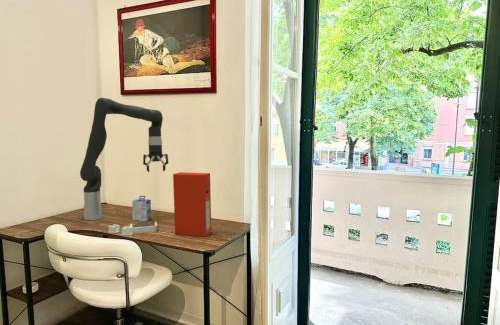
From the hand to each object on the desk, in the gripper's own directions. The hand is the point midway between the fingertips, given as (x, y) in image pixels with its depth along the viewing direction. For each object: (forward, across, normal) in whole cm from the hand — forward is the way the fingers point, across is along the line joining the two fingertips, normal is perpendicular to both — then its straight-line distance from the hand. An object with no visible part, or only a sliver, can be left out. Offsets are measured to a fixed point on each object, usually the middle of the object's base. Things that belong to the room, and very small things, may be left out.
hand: (156, 171), depth 195 cm
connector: (+30, +8, +13) cm, 34 cm away
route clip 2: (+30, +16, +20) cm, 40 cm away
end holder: (+30, +8, +15) cm, 35 cm away
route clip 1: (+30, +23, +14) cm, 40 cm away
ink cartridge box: (+30, +9, -8) cm, 33 cm away
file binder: (+30, -17, +30) cm, 46 cm away
